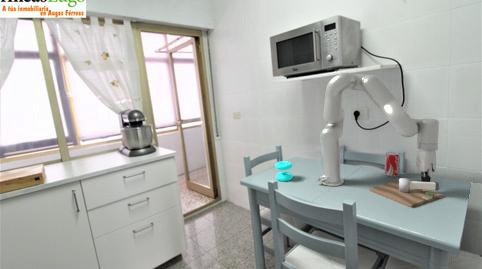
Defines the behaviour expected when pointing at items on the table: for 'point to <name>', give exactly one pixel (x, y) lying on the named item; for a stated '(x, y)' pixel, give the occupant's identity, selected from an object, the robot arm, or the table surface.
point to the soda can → (392, 164)
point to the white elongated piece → (416, 185)
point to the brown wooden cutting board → (405, 194)
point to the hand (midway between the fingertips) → (425, 184)
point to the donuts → (284, 175)
